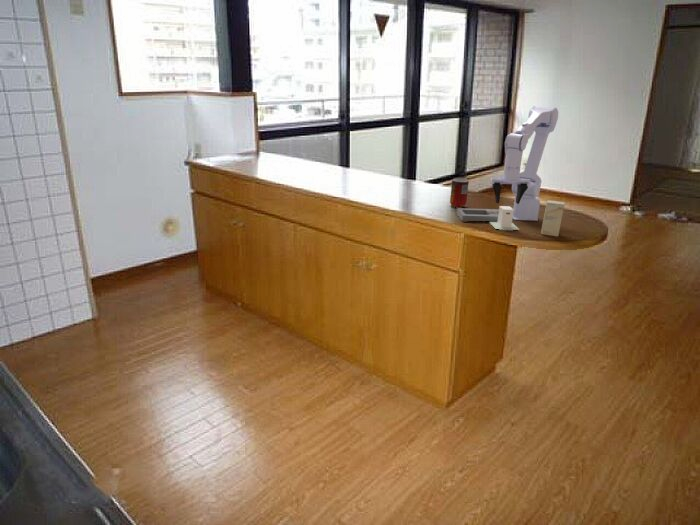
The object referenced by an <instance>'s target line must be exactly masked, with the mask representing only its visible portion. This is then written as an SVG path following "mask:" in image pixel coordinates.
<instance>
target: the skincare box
mask: <svg viewBox="0 0 700 525" xmlns="http://www.w3.org/2000/svg"><path fill="white" fill-rule="evenodd" d="M565 205H566V202H565V201H557V200H550V199H549V200H548V199H547V200H546V204H545V209H544V214H543V220H542V225H541V231H540V233H541V235H545V236H552V237H559V234H560V229H561V225H562V224H561V223H562V220H563V219H562V218H563V216H564V210H565Z"/></svg>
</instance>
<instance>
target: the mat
mask: <svg viewBox="0 0 700 525" xmlns="http://www.w3.org/2000/svg"><path fill="white" fill-rule="evenodd" d="M488 223H489V225H490V226H491V225H492V226H493V227H494V228H495V229H499V230H498V231H513V230H518V232H519V231H520V228H519V227H517V225H515V223H513V222H512V226H511V228H507V227H500V226H499V225H498V224H497V222H488ZM492 226H491V227H492ZM493 227H492V228H493ZM494 228H493V229H494ZM495 229H494V230H495Z"/></svg>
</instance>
